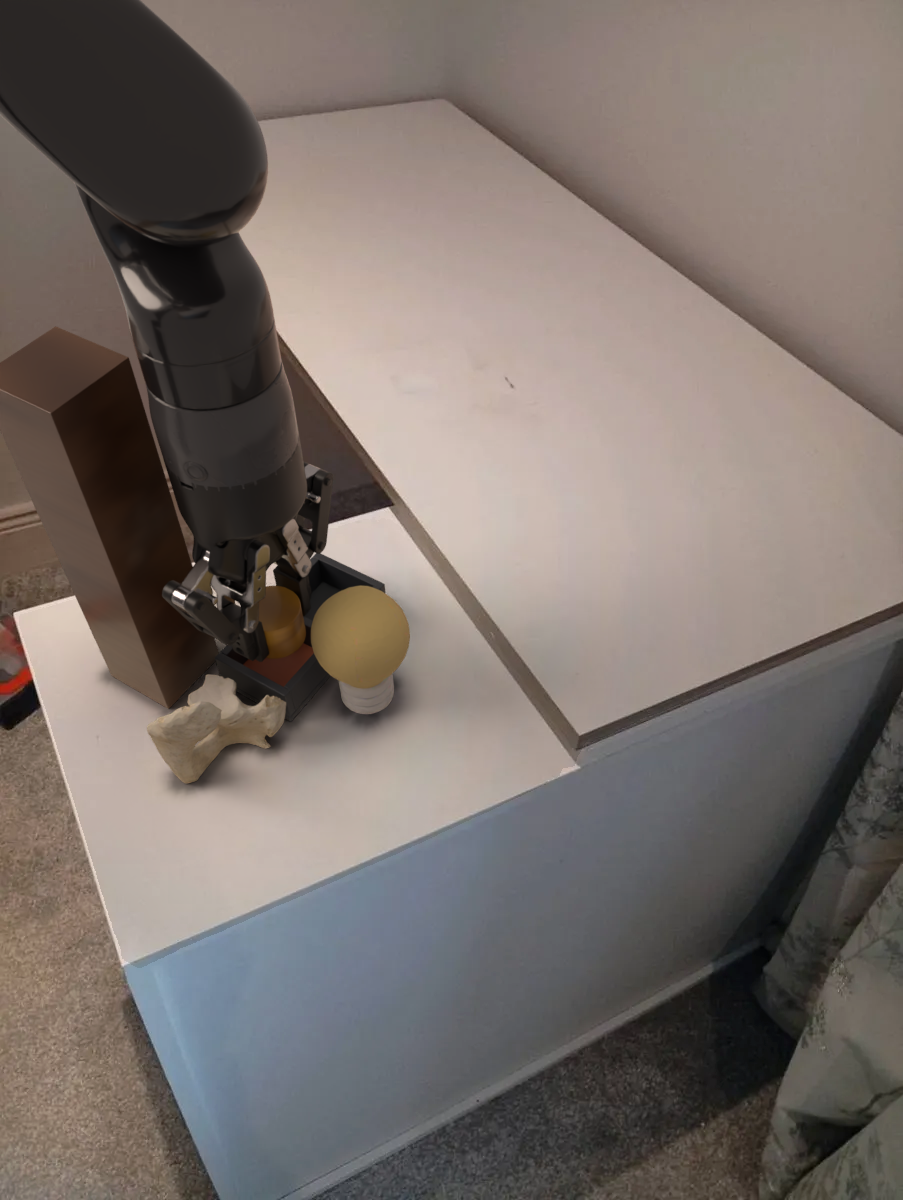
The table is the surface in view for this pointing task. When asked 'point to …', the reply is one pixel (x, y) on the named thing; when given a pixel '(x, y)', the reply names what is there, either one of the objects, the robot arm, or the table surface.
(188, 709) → the bone
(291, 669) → the dark grey open box
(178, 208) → the robot arm
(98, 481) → the block
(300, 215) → the table surface
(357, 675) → the light bulb
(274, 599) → the cylinder
